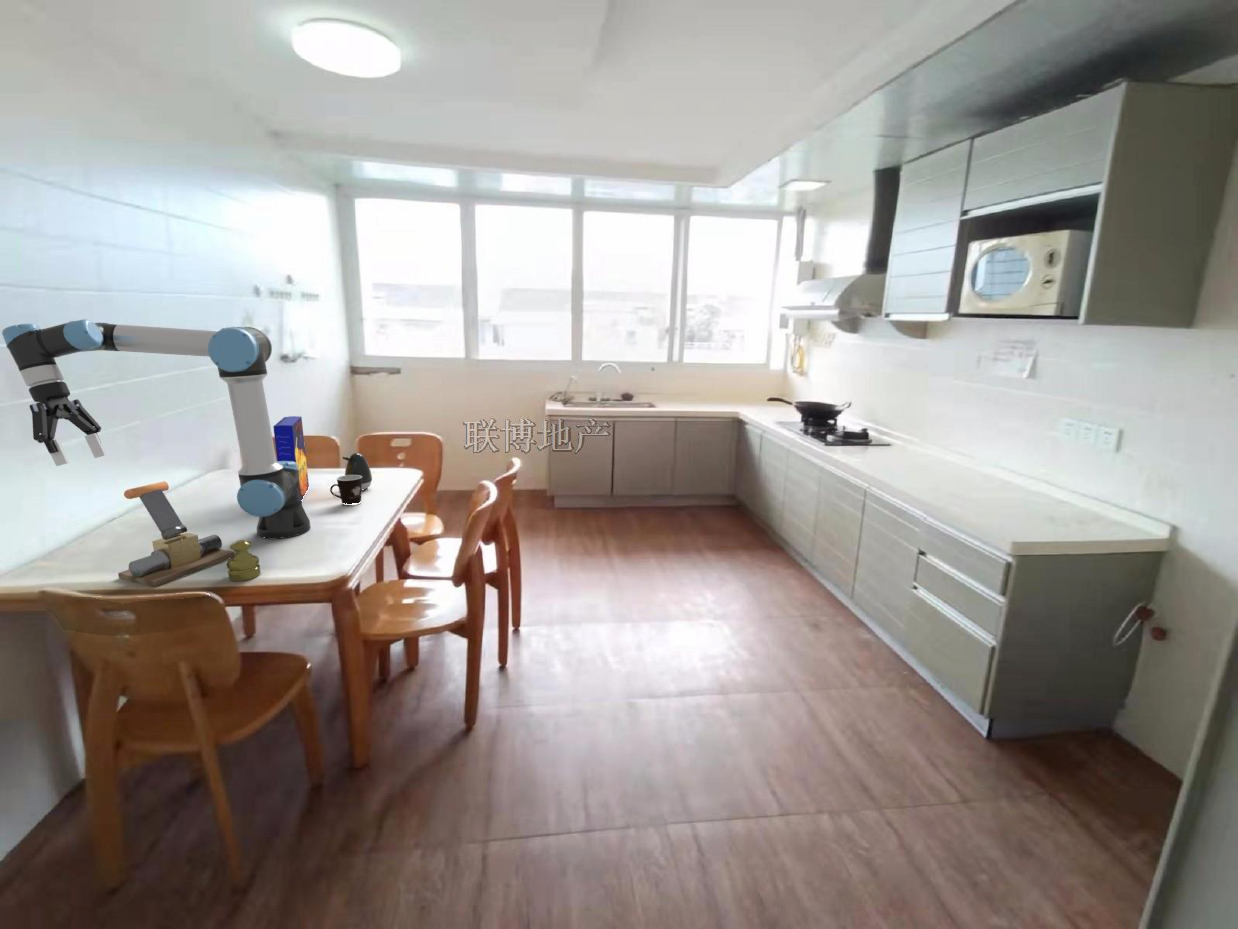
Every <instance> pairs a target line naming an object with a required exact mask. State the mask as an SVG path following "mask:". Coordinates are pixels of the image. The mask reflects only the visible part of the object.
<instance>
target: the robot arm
mask: <svg viewBox="0 0 1238 929" xmlns="http://www.w3.org/2000/svg"><path fill="white" fill-rule="evenodd" d="M1 333H2V336H3V337H2V338H3V340H4V342H5V345H6V348H7V349H8V350H9V352H10V354H11V355H10V356H12V358H13V360H14V362H15V364H16V366H17V368H18V371H19V372H20V374H21V377H22V380H24V383H25V385H26V386H27V387H29V389H28V392H29V393H30V396H31V398H32V400H33V402H34V403H32V404H30V405H29V409H30V411H31V415H32V416H31V419H32V436H33V437H32V438H33V440H34V441H37V443H39V444H42V443H43V444H44V445H45V448H46V449H47V451H48V453H49V455H50V456H51V458H52V460H53V463H54V464H55V466H56V467H59V466H62V465H66V464H69V463H70V461H69V459H68V457H67V454H66V453H65V451H64V448H63V447H62V446H63V445H62V444H61V442H60V441H59V439H58V438H55V437H56V432H57V427H58V422H59V420H63V419H64V420H66V421H69V423H71V424H72V425H74V426H75V427H77V429H79V430H80V431H81V432H83V433H84V434H86V435H84V438H85V441H86V442H87V444H88V447H89V449H90V452H91V453H92V456H93V457H94V459H98V458H100V457H104V456H107V453H106V451H105V449H104V447H103V445H102V441H101V439H100V437H99V435H98V433H101V430H102V426H100V424H99V423H98V422H97V420H95V419H94V418H93V416H92V415H91V414H90V413H89V412H88V411H87V410H86V408H84V407H83V405H82V403H81V401H80V399H78V398H77V399H73V400H70V399H69V398H68V397H70V395H71V392H70V389H69V386H68V385H67V383H66V382H64V381H63V380H64V376H63V374H62V372H61V370H60V368H59V366H58V364H57V363H56V358H60V357H63V356H67V355H71V354H77V353H85V352H95V351H97V352H98V351H104V352H105V351H107V352H109V351H110V352H127V353H128V352H130V353H145V354H146V353H147V354H160V355H161V354H162V355H175V356H176V355H177V356H178V355H179V356H191V357H192V356H193V357H195V356H196V357H208V358H209V359H210V360H211V361H212V363H213V364H214V365H215V366H216V367H217V370H218V371H217V372H218V375H219V378H220V379H221V380H223V381H224V382H225V383H226V384H227V389H228V394H229V400H230V404H231V410H232V415H233V421H234V426H235V430H236V437H237V441H238V447H239V451H240V457H241V463H242V465H241V466H242V467H241V468H240V469H239V470H238V473H237V474H238V480H239V484H240V486H239V489H238V490H237V494H236V501H237V504H238V506H239V507H240V509H242V510H243V512H245V513H247V514H249V515H250V516H254V517H258V520H257V525H256V534H258V535H257V536H258V537H259V536H260V537H259V538H262V537H265V538H264V539H269V538H276V539H282V538H281V537H286V538H292V537H295V536H294V535H296V536H298V535H297V534H299V535H302V534H304V532H305V531H307V532H308V531H309V530H311V521H310V519H309V516H308V514H307V513H306V511H305V509H304V507H303V502H302V501H301V491H300V482H299V470H298V466H297V463H296V462H293V461H277V454H276V448H275V443H274V440H273V439H274V438H273V434H272V427H271V421H270V417H269V410H268V404H267V398H266V393H265V388H264V382H263V381H264V379H265V378H266V377H267V376H268V370H267V365H266V364H267V363H266V362H268V360H270V358H271V355H272V350H273V348H272V346H273V345H272V343H271V339H269V337H268V336H267V335H266V334H265V333H264V332H263V331H262V330H260V329H258V328H255V327H251V326H240V327H239V326H231V327H226V328H225V327H223V328H221V329H219V330H207V329H206V330H205V329H188V328H177V327H176V328H174V327H173V328H172V327H160V326H159V327H158V326H156V327H155V326H147V325H143V326H142V325H131V324H127V325H126V324H113V323H112V324H111V323H107V322H92V321H91V320H89V319H84V318H83V319H77V320H70V321H68V322H66V323H61V324H58V325H57V324H56V325H55V326H51V327H46V328H40V326H39V325H37V324H35V323H21V324H14V325H9V326H7V327H5V328H4V329H3V330H2V331H1ZM301 533H302V534H301ZM305 533H306V532H305ZM291 536H292V537H291Z"/></svg>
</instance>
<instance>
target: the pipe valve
mask: <svg viewBox="0 0 1238 929" xmlns="http://www.w3.org/2000/svg"><path fill="white" fill-rule="evenodd" d="M198 536H199V535H198V534H196V533H195V534H194V533H189V532H187V533H186V534H184V535H181V536H178V537H174V538H171V539H168V540H164V539H163V538H159V539H156V540H152V542H151V543H152V546H153V548H152V549H153V551H152V552H151V553H150V555H148V556H144V557H142V558H139V559H135V560H133V561H132V560H131V562H129V564H128V569H127V570H123V571H120V572H118V573H117V574H118V579H119V578H122V579H121V580H123V579H125V580H124V581H127V582H128V581H129V582H133V583H138V584H140V585H141V584H142V585H146V586H150V587H154V588H156V587H159V586H162V585H165V584H168V583H170V582H173V581H175V580H178V579H181V578H184V577H186V576H189V575H191V574H194V573H196V572H199V571H201V570H202V571H203V570H204V568H205V569H207V568H210V567H213V566H215V565H217V564H220V563H223V562H226V561H228V560H230V559H229V558H231V559H232V557H233V556H234V555H235V554H236V552H235V551H234V550H227V549H221V548H222V545H223V542H222V539H221V537H220V536H219V535H217V534H211V535H209V536H205V537H203V538H200V539H199V537H198ZM227 559H228V560H227ZM222 561H223V562H222ZM185 575H186V576H185ZM177 578H178V579H177Z"/></svg>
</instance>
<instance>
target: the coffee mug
mask: <svg viewBox="0 0 1238 929" xmlns="http://www.w3.org/2000/svg"><path fill="white" fill-rule="evenodd" d="M336 482H337V484H336V483H334V484H333V485H331V487H330V489H329V492H330V494H332V495H333V496H334V497H336V498H339V499H340V500H341V504H342V503H345V504H346V503H347V504H352V503H359V502H360V501H361V502H362V491H361V490H362V476H360V475H345V474H344V475H340V476H338V477H337V478H336ZM336 486H337V487H338V490H339V495H340V496H339V495H337V494H335V493H334V492H333V488H334V487H336Z"/></svg>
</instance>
